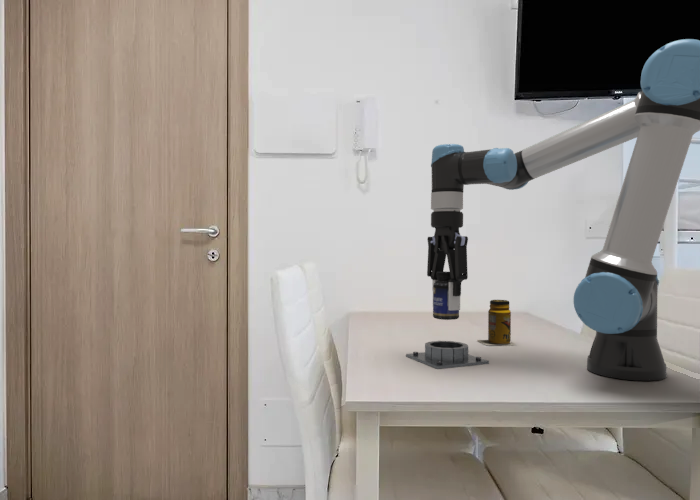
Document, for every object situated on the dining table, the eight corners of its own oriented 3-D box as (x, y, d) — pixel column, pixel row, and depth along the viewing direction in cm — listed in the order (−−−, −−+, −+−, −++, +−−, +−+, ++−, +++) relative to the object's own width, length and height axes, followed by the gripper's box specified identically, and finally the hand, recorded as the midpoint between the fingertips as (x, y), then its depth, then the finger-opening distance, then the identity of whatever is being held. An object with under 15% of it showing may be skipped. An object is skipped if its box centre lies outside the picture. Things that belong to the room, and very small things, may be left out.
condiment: (516, 345, 143) (516, 301, 142) (486, 346, 141) (487, 302, 141) (504, 340, 150) (505, 298, 150) (476, 341, 149) (476, 299, 148)
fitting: (489, 363, 120) (489, 348, 120) (437, 369, 115) (437, 352, 115) (454, 352, 133) (454, 337, 133) (406, 356, 128) (406, 341, 128)
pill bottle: (428, 317, 125) (428, 271, 125) (448, 316, 128) (449, 271, 128) (442, 320, 120) (443, 272, 120) (464, 319, 122) (464, 272, 122)
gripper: (485, 209, 116) (484, 312, 116) (438, 213, 134) (437, 303, 134) (457, 208, 113) (455, 314, 114) (413, 212, 131) (412, 304, 131)
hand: (446, 308), depth 124 cm, fingers closed on pill bottle, 6 cm apart
